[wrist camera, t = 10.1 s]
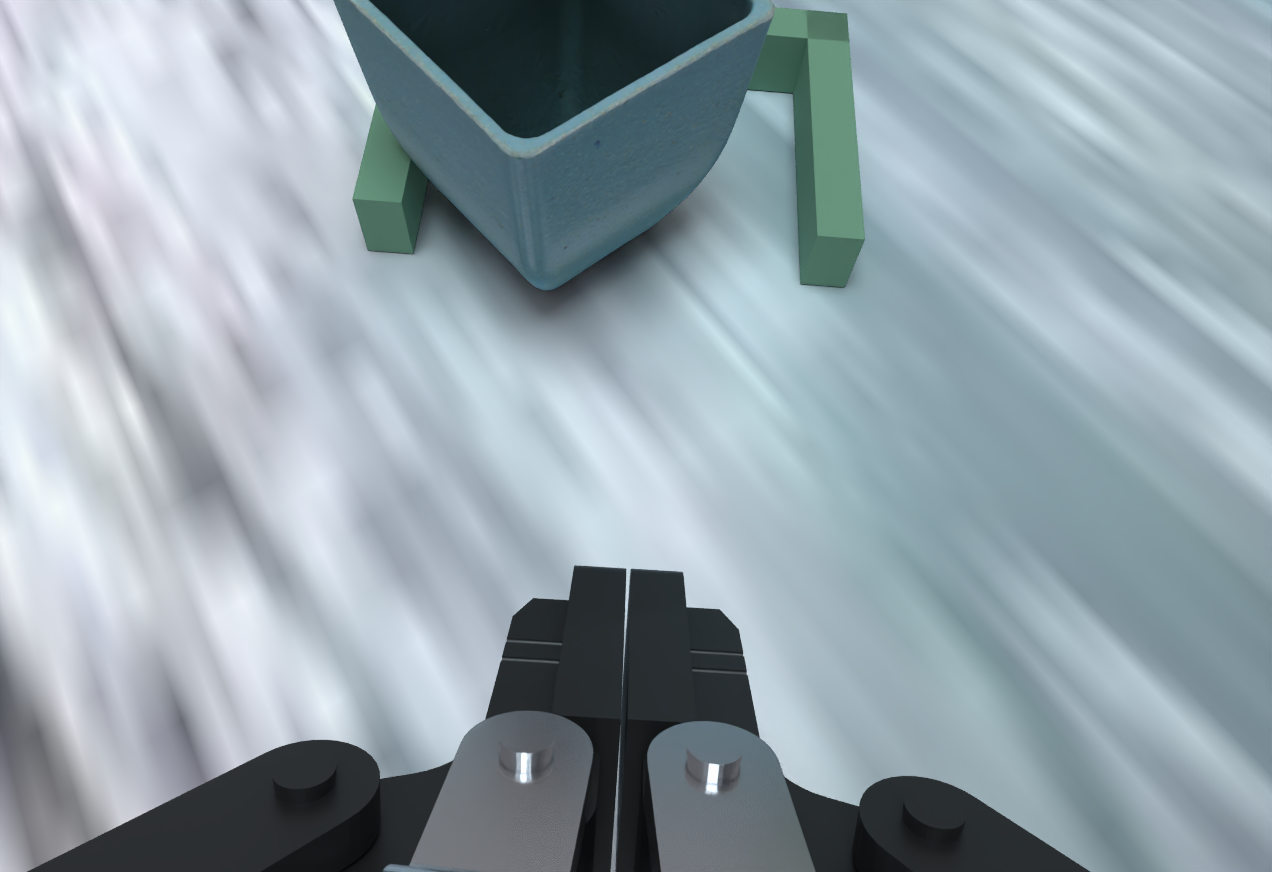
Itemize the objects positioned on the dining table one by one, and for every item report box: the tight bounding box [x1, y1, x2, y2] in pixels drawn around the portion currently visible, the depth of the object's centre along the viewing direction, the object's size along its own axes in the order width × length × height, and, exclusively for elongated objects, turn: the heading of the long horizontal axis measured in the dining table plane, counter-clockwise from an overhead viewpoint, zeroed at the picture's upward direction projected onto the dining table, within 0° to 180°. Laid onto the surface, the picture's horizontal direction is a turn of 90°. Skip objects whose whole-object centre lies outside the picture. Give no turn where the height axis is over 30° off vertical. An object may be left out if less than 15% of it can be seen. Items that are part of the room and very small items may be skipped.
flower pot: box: [334, 0, 775, 291], centre depth 29 cm, size 9×9×9 cm
